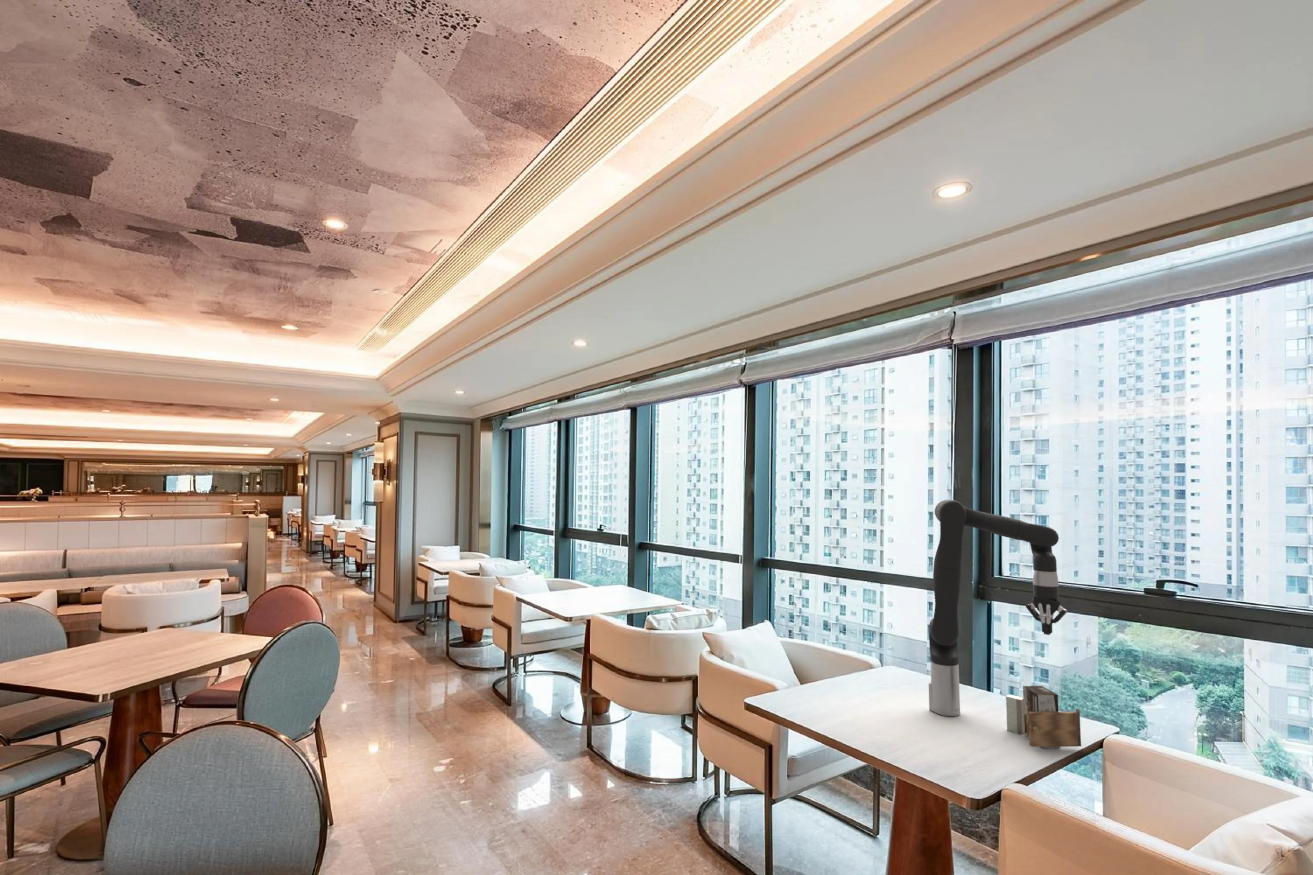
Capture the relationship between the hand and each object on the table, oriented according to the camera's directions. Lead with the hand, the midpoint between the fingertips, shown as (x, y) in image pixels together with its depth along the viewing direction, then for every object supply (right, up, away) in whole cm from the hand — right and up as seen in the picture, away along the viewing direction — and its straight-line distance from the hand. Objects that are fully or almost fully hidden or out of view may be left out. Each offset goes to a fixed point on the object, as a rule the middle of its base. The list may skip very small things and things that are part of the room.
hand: (1047, 634), depth 220 cm
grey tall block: (-18, -28, -12) cm, 35 cm away
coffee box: (-14, -28, -20) cm, 37 cm away
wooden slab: (-13, -26, -26) cm, 39 cm away
